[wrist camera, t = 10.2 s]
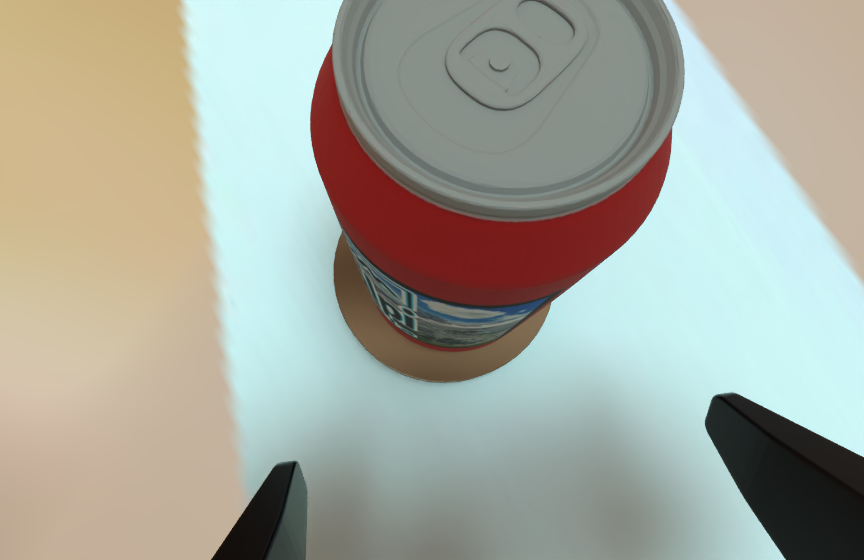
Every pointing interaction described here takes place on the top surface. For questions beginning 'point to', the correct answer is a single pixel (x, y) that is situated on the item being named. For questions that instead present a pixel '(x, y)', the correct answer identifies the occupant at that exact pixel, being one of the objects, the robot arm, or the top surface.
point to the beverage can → (491, 150)
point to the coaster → (407, 353)
